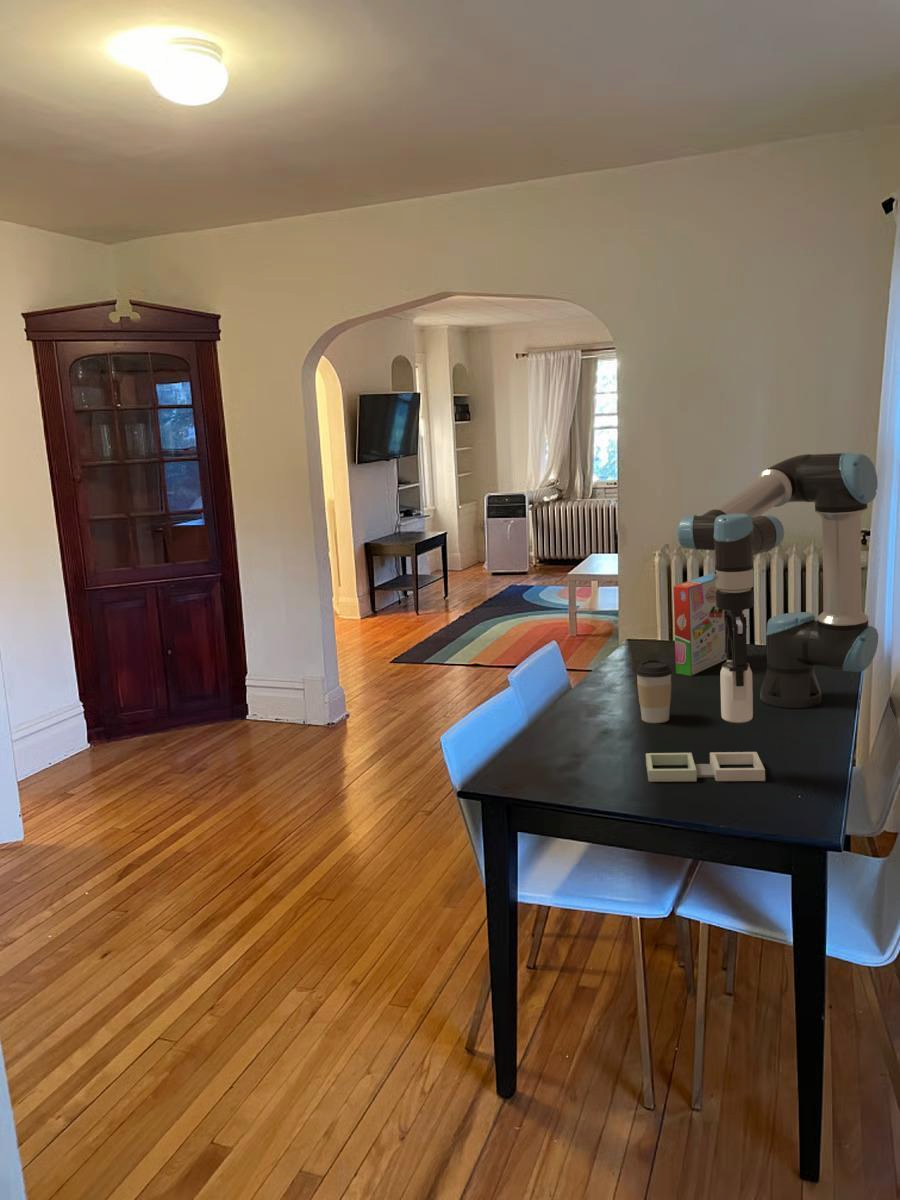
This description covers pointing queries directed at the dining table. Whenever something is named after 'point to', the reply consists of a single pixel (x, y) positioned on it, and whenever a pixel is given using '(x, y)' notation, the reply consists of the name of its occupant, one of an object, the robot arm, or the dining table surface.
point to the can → (735, 708)
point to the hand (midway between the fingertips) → (736, 694)
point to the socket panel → (705, 767)
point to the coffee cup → (654, 690)
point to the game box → (698, 626)
